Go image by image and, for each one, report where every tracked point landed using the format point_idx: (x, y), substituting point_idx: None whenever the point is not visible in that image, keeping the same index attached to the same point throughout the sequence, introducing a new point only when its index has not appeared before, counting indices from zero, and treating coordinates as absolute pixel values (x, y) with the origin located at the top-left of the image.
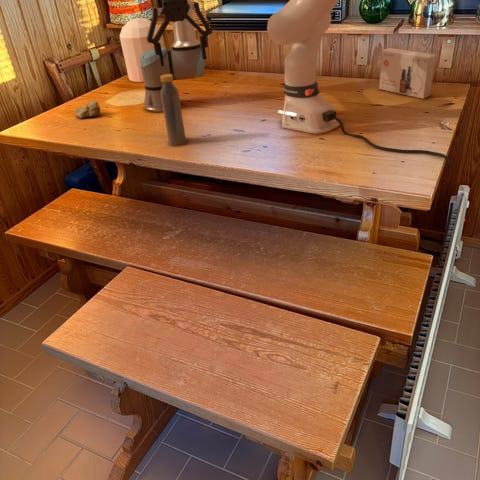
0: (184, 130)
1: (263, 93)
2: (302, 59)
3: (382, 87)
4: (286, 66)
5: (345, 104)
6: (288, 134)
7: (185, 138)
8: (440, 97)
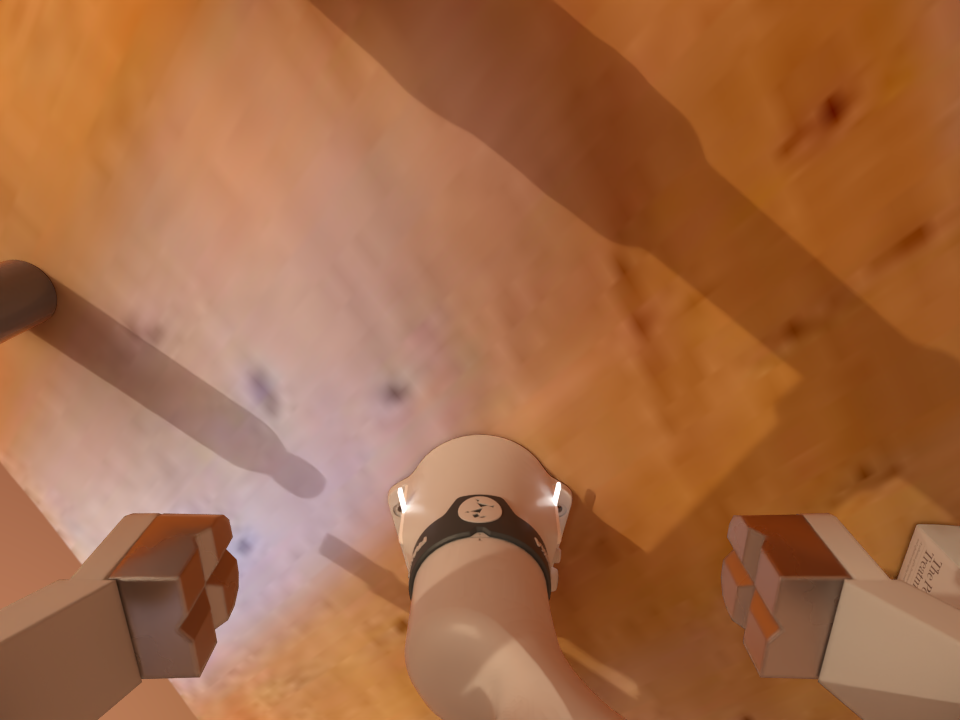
0: (24, 327)
1: (662, 131)
2: (441, 718)
3: (916, 542)
4: (406, 638)
5: (704, 517)
6: (362, 538)
7: (41, 321)
8: None
